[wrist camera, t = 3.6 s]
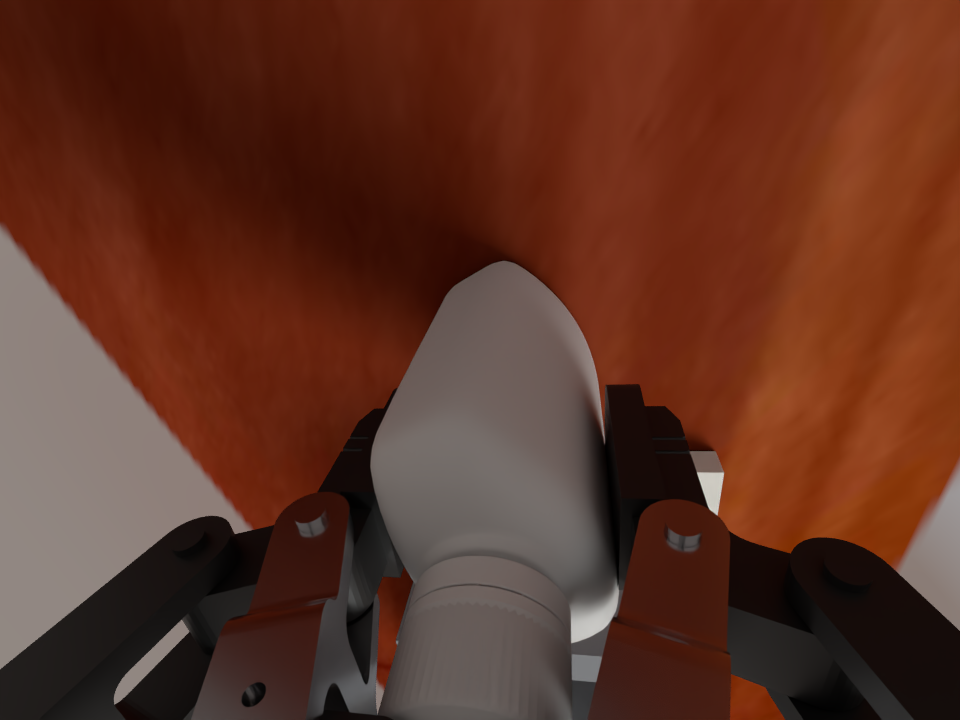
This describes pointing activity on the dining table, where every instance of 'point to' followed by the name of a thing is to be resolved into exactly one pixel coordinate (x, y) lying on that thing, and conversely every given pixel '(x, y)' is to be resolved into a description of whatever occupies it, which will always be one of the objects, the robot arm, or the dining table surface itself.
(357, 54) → the dining table surface
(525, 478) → the eye dropper bottle
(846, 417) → the dining table surface
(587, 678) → the socket
